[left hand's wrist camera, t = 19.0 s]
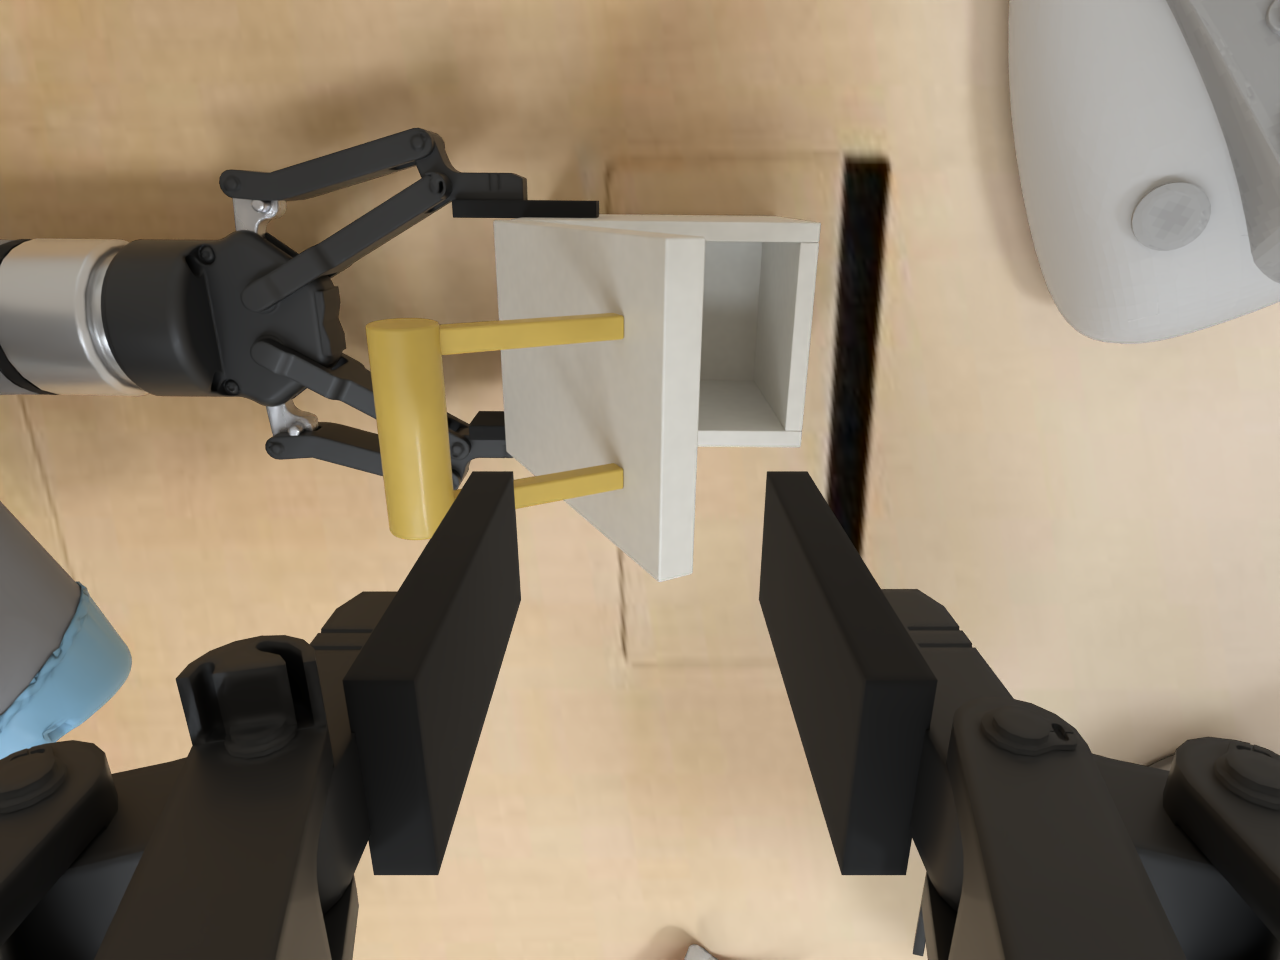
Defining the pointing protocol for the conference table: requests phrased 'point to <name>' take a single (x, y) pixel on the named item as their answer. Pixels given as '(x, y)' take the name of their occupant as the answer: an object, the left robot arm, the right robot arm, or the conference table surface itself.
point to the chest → (746, 320)
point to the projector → (1149, 159)
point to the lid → (564, 386)
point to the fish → (698, 953)
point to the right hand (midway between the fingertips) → (598, 323)
